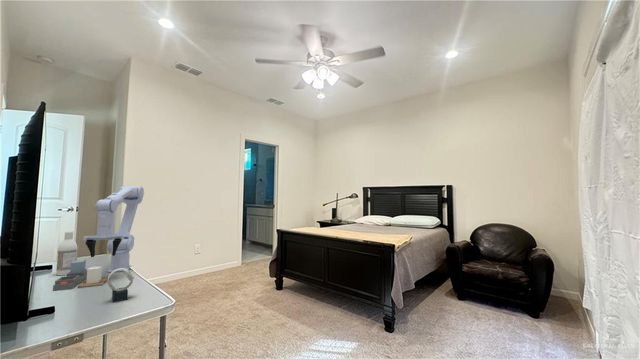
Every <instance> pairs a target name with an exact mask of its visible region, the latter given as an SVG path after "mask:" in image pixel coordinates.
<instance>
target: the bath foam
mask: <svg viewBox="0 0 640 359" xmlns="http://www.w3.org/2000/svg"><path fill="white" fill-rule="evenodd" d="M78 248H79V247H78V244H77V242H76V241H75V240H74V231H70V230H69V231H64V239H63V241H61V243H60V244H59V246H58V248H57V256H56V269H55V270H56V272H55V274H56V276H59V277H66V275H67V273H69V272H70V268H71V262H73V261H77V260H78V250H79V249H78Z"/></svg>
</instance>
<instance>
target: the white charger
mask: <svg viewBox="0 0 640 359" xmlns="http://www.w3.org/2000/svg"><path fill="white" fill-rule="evenodd" d="M86 269H87V278H86V280H87V281H86V280H85V281H86V284H91V283H99V282H100V281H101V279H102V274H103V266H102V265H101V266H91V267H89V268H86Z"/></svg>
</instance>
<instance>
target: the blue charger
mask: <svg viewBox="0 0 640 359" xmlns="http://www.w3.org/2000/svg"><path fill="white" fill-rule="evenodd" d="M86 263H87V260H86V259H80V260H78V259H77V261H73V262H71V268H70V273H80V272H84V271H85V269H86Z"/></svg>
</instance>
